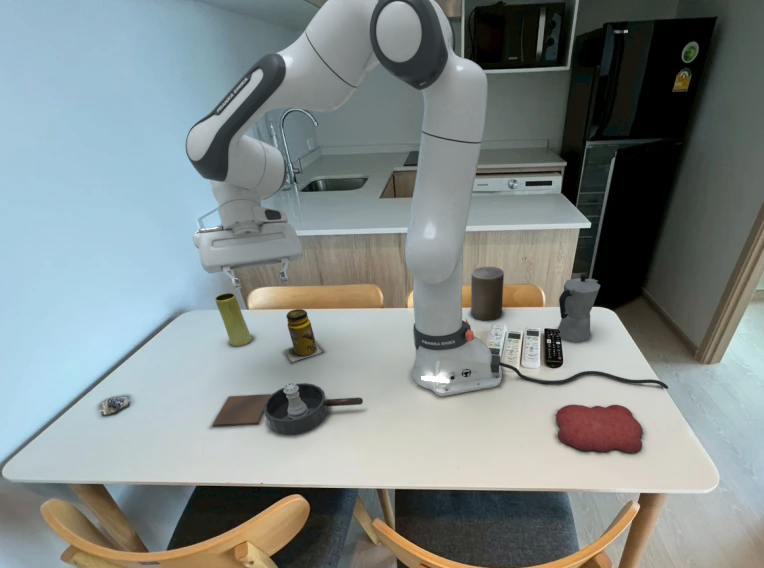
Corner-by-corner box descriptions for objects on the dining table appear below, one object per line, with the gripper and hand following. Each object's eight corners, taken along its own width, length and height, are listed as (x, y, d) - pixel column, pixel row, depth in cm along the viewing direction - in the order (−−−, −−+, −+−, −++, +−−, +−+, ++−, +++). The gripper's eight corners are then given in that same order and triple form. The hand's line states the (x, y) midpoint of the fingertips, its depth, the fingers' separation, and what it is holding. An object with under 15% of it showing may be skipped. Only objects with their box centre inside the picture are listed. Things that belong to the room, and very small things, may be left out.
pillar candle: (505, 319, 127) (508, 272, 118) (474, 322, 126) (475, 275, 117) (497, 305, 134) (499, 260, 126) (467, 308, 134) (468, 263, 125)
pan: (332, 394, 99) (329, 381, 97) (322, 433, 89) (318, 419, 86) (277, 398, 99) (273, 384, 97) (261, 436, 88) (255, 423, 86)
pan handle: (363, 401, 93) (362, 395, 92) (363, 405, 92) (362, 400, 91) (324, 403, 93) (323, 398, 92) (323, 408, 92) (322, 402, 91)
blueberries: (107, 419, 95) (103, 413, 94) (90, 408, 98) (86, 402, 97) (137, 403, 100) (133, 397, 98) (120, 393, 103) (116, 387, 102)
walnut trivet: (270, 396, 100) (270, 394, 100) (258, 424, 92) (257, 422, 91) (229, 398, 100) (228, 396, 99) (213, 426, 92) (212, 424, 91)
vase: (225, 345, 120) (208, 300, 112) (238, 334, 125) (222, 291, 117) (244, 347, 119) (227, 302, 110) (256, 336, 124) (241, 292, 115)
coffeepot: (573, 320, 124) (583, 263, 114) (601, 332, 118) (614, 272, 108) (540, 338, 117) (547, 278, 106) (567, 352, 111) (578, 289, 100)
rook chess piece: (298, 405, 96) (290, 377, 92) (312, 411, 94) (305, 383, 90) (284, 416, 93) (274, 388, 88) (298, 422, 91) (289, 394, 87)
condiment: (322, 352, 115) (313, 314, 108) (292, 362, 111) (280, 323, 104) (313, 341, 120) (303, 304, 113) (284, 351, 116) (272, 313, 109)
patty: (630, 408, 91) (632, 401, 90) (652, 454, 80) (655, 447, 79) (550, 406, 93) (551, 399, 92) (561, 452, 82) (562, 444, 81)
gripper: (187, 221, 81) (204, 286, 80) (292, 211, 89) (310, 270, 88) (193, 237, 87) (210, 298, 86) (292, 226, 95) (308, 282, 94)
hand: (261, 284), depth 87 cm, fingers open, 8 cm apart
